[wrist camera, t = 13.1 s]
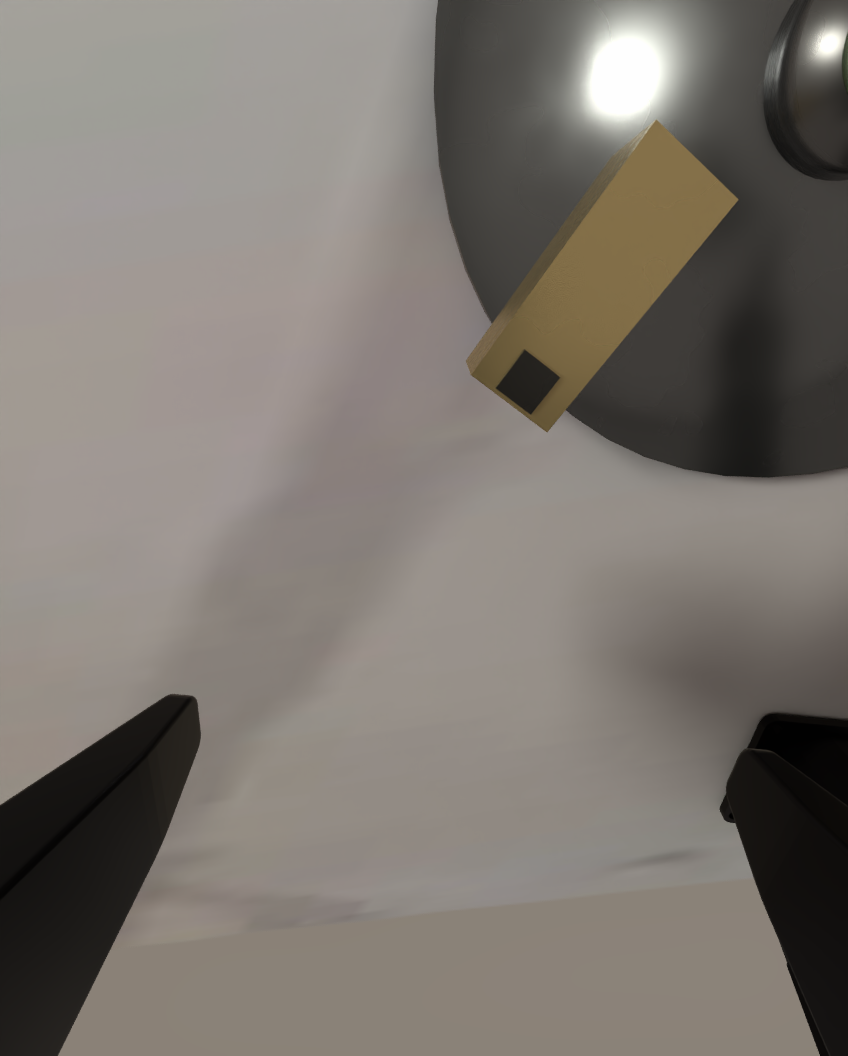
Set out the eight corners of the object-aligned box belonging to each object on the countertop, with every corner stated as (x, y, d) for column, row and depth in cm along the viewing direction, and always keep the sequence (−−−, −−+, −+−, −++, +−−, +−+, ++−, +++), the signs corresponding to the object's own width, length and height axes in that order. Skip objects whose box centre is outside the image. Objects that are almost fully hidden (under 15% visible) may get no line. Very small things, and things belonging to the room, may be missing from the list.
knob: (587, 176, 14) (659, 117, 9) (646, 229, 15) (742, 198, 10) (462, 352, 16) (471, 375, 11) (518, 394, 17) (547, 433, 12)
